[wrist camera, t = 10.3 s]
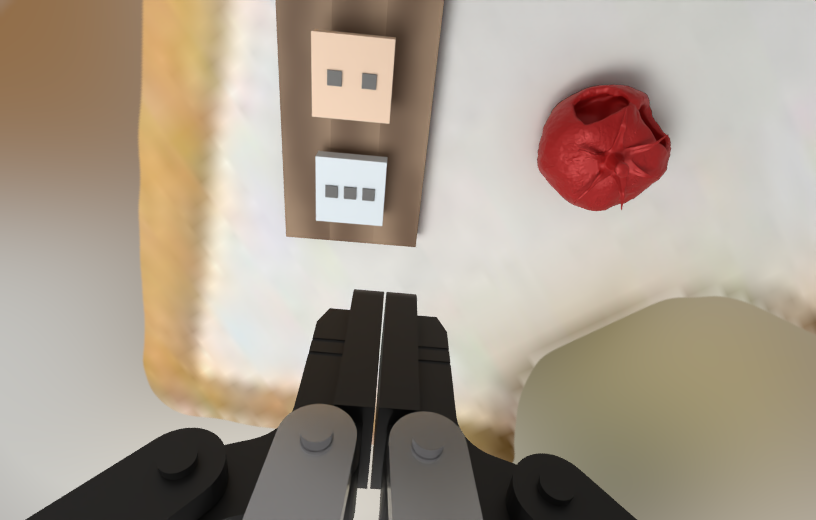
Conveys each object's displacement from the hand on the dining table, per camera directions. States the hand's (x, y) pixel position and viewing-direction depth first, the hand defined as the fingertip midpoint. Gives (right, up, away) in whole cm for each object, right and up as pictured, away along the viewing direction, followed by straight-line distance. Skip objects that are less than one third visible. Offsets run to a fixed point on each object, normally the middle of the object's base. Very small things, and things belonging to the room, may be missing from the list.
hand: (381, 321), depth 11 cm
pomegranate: (+16, +12, +30) cm, 36 cm away
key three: (-4, +9, +30) cm, 32 cm away
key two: (-3, +16, +25) cm, 30 cm away
